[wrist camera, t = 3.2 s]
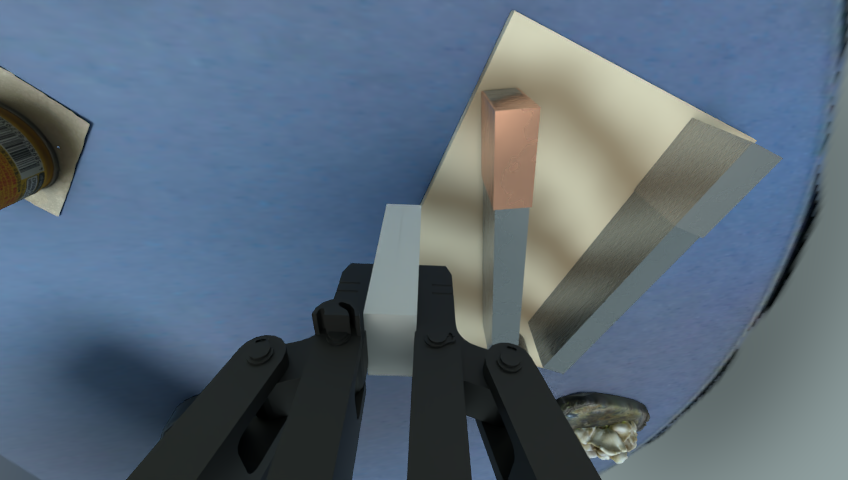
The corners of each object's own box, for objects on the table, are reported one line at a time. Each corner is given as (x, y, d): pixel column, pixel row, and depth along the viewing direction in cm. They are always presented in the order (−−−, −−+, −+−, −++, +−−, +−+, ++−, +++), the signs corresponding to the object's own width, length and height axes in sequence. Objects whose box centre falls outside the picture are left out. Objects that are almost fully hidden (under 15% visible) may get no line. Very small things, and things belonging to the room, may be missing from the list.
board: (541, 361, 34) (543, 368, 33) (371, 309, 30) (369, 316, 30) (746, 136, 22) (756, 140, 22) (511, 10, 19) (514, 10, 18)
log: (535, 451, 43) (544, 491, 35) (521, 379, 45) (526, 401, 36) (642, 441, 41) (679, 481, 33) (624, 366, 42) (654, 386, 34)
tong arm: (505, 321, 30) (518, 368, 26) (481, 323, 30) (490, 370, 26) (517, 87, 20) (540, 107, 16) (481, 91, 20) (495, 111, 16)
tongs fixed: (518, 361, 33) (533, 416, 28) (481, 350, 32) (490, 405, 27) (717, 131, 21) (793, 162, 17) (667, 104, 21) (734, 130, 16)
